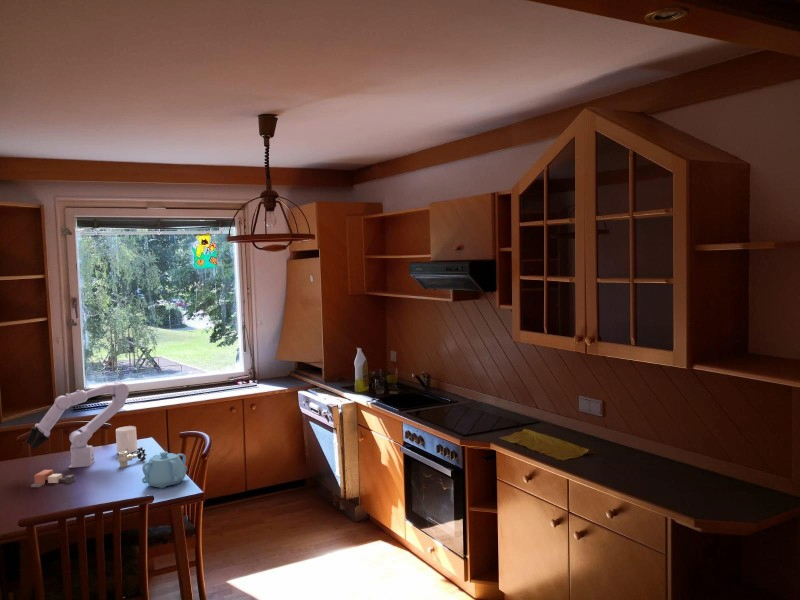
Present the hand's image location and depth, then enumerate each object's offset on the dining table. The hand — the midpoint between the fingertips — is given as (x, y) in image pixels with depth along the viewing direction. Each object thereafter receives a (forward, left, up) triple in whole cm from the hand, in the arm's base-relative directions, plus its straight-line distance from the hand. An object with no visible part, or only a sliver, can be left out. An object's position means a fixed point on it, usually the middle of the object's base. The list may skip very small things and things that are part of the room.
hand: (30, 446), depth 299 cm
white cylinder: (-36, -25, -13) cm, 45 cm away
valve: (-42, -4, -13) cm, 44 cm away
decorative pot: (-63, +31, -13) cm, 71 cm away
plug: (-17, +15, -13) cm, 26 cm away
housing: (-9, +13, -13) cm, 21 cm away
